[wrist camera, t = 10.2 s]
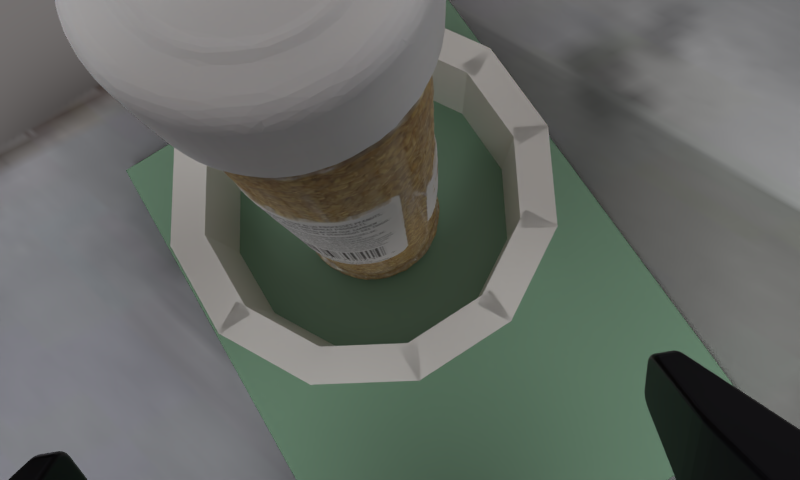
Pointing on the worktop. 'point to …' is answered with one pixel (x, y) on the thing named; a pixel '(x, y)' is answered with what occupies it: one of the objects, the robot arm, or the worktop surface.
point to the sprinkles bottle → (289, 108)
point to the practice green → (440, 310)
